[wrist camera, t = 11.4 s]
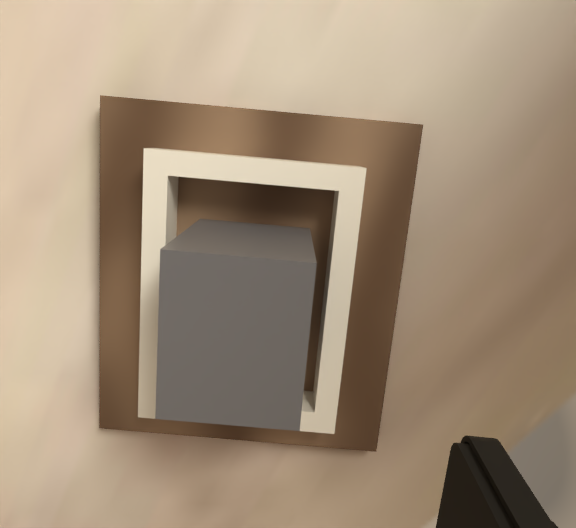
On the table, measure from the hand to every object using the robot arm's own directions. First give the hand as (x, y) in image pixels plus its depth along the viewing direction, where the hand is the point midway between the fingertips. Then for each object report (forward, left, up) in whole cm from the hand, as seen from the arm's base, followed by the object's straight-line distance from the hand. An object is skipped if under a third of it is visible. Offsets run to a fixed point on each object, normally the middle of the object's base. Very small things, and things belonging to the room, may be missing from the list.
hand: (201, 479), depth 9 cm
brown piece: (0, 0, -15) cm, 15 cm away
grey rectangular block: (0, 0, -14) cm, 14 cm away
